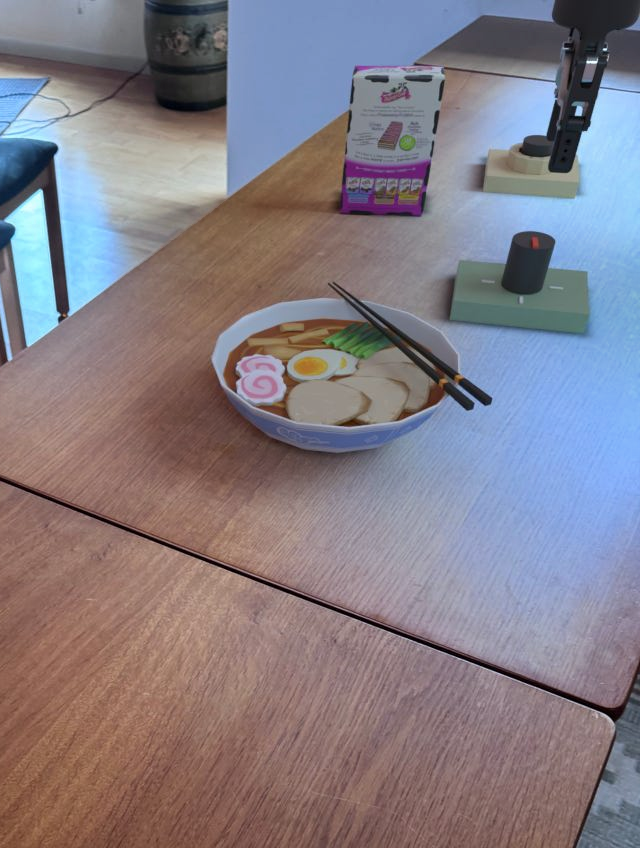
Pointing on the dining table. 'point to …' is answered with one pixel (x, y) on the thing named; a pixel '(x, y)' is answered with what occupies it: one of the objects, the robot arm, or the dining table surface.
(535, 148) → the button
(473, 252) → the dining table surface
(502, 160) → the housing
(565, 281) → the panel
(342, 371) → the ramen bowl
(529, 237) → the knob
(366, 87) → the candy bar box
